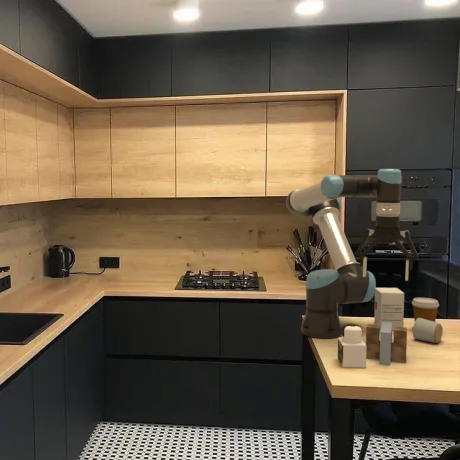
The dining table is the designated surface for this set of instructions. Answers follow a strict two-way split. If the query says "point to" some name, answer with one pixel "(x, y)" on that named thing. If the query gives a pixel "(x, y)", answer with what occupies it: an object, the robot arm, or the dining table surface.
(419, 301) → the disposable coffee cup
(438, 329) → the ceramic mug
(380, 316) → the supplement box
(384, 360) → the slate plate
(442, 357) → the dining table surface
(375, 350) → the walnut stand
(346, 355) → the medicine bottle
